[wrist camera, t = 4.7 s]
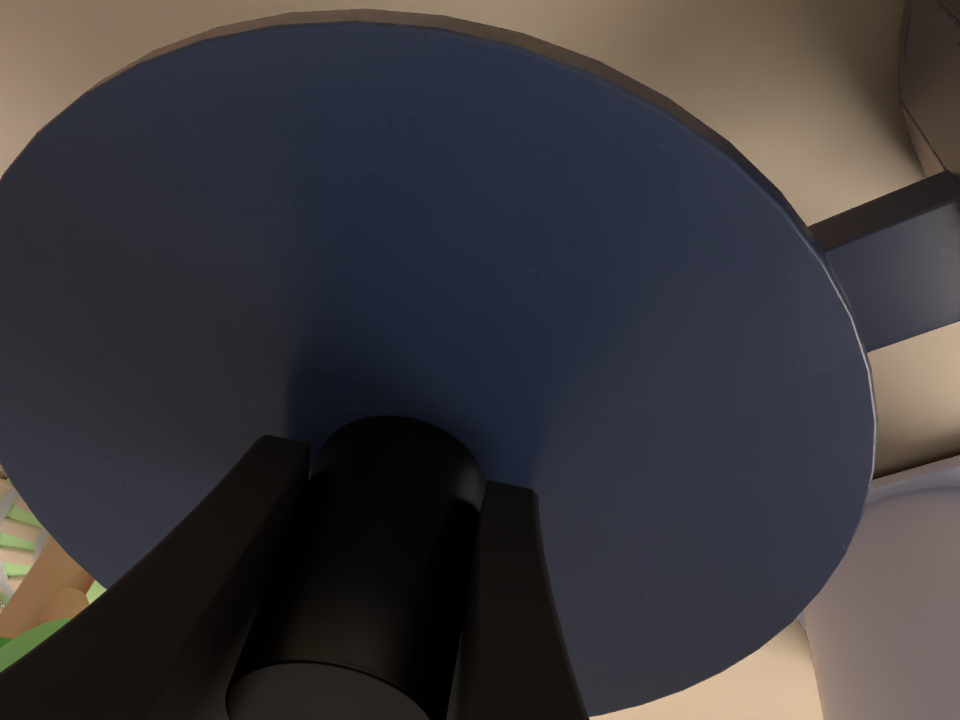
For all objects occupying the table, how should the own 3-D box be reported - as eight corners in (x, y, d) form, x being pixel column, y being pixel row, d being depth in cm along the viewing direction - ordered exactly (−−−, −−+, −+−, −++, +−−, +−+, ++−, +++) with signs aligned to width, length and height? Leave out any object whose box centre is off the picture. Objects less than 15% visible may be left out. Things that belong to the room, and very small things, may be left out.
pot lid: (968, 577, 14) (1100, 922, 10) (334, 723, 19) (260, 990, 15) (607, -275, 8) (591, -231, 4) (-172, 267, 13) (-504, 513, 9)
